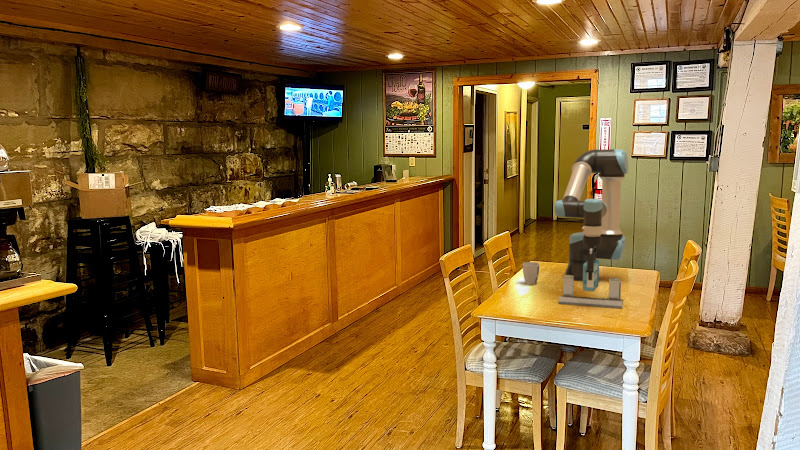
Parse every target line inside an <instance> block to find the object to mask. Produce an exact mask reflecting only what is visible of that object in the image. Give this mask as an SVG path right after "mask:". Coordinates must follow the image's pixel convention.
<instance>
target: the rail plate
mask: <svg viewBox="0 0 800 450" xmlns="http://www.w3.org/2000/svg"><path fill="white" fill-rule="evenodd" d="M562 280H563V281H562V295H560V296H558V304H559V305H568V306H569V305H570V306H583V307H584V306H586V307H595V308H596V307H598V308H614V309H623V299H620V300H619V281H620V278H618V277H609V280H608V298H601V297H587V296H574V292H575V291H574V290H575V287H574V283H575V280H574V276H571V275H565V274H564V276H562Z"/></svg>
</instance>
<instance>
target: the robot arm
mask: <svg viewBox="0 0 800 450" xmlns="http://www.w3.org/2000/svg"><path fill="white" fill-rule="evenodd" d="M628 173H629V159H628V155H627V152H626V151H625V150H624V149H616V148H615V149H590V150H587V151H584V152H583V153H582V154H580V155H579V156H578V157H577V158H576V159H575V160H574V161H573V164H572V167H571V175H570V178H569V180H568V184H567V185H566V189H565V192H564V194H563V197H562V199H559V200H556V201H555V204H554V215H555V216H556V217H560V218H561V217H562V218H581V219H583V226H582V228H581V230H583V231H579V232H574V233H572V234H570V235H569V242H568V245H569V246H568V264H567V267H566V270H565V273H564V275H571V276H574V281H577V282H578V281H579V282H580V281H581V282H583V265H584V263H585V262H586V261H587V260H588V262H587V270H585V272H587V287H591V288H593V286H594V260H610V261H612V260H613V261H616V260H617V261H619V260H621V259H622V258H623V255H624V252H625V249H626V243H627V241H626V239H627V238H626V237H625V236H623V232H622V231H621V230H620V224H621V223H620V222H621V221H620V220H621V197H622V196H621V189H622V180H623V179H624V178H625V175H626V174H628ZM592 174H599V175H598V176H599V178H600V180H601V181H602V182H601V184H602V185H601V187H602V188H601V199H600V198H599V199H598V198H586V199H585V200H581V199H582V195H583V192H584V189H585V186H586V183H587V180H588V178H589V177H590V176H591V175H592Z"/></svg>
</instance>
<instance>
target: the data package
mask: <svg viewBox="0 0 800 450" xmlns="http://www.w3.org/2000/svg"><path fill="white" fill-rule="evenodd" d="M587 262H588V260H587V261H586V262H585V263H584V265H583V281H582V291H585V292H595V291H596V290H597V289H598V287H599V282H600V280H599V279H600V259H596V260H594V286H593V288H591V287H587V272H585V270H587Z"/></svg>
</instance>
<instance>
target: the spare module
mask: <svg viewBox="0 0 800 450" xmlns="http://www.w3.org/2000/svg"><path fill="white" fill-rule="evenodd" d="M621 288H622V281H621V280H619V300H621V293H622V292H621V290H622V289H621Z"/></svg>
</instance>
